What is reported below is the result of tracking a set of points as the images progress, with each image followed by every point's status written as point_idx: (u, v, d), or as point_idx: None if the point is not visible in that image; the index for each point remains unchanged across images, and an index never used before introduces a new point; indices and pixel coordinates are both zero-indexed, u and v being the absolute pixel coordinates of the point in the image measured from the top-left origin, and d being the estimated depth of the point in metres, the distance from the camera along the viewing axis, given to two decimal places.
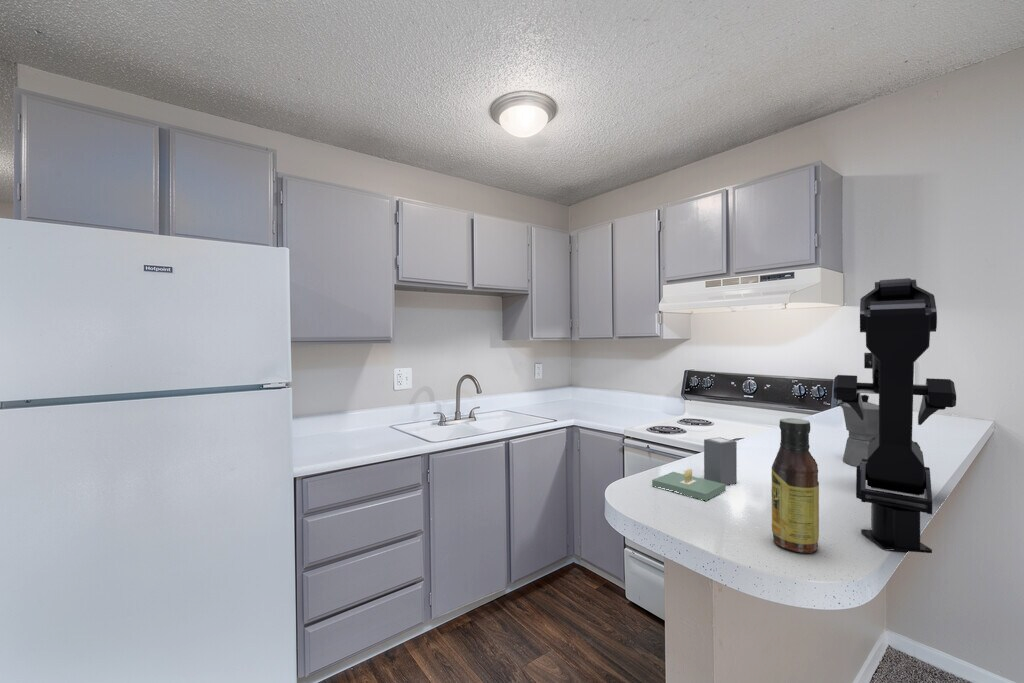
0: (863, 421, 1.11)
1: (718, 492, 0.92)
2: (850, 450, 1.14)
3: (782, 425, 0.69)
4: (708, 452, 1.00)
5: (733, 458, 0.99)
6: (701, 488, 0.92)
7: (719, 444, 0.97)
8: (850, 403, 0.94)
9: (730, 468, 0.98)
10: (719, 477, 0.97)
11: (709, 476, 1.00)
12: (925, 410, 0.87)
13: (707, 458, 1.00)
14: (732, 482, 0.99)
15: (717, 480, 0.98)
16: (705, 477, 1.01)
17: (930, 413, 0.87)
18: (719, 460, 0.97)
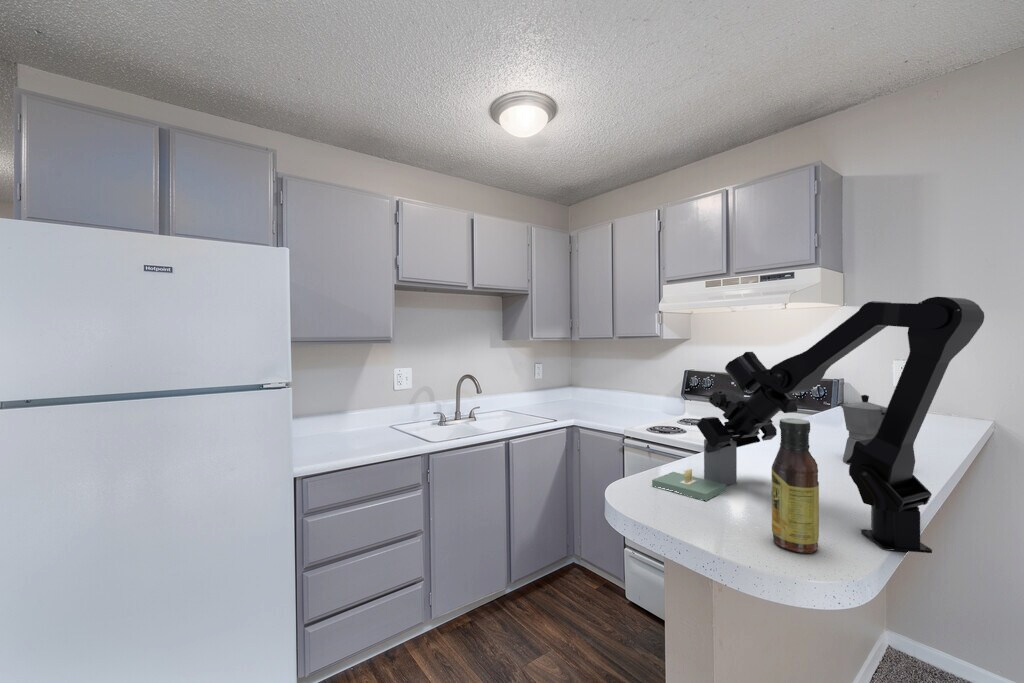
0: (863, 421, 1.11)
1: (718, 492, 0.92)
2: (850, 450, 1.14)
3: (782, 425, 0.69)
4: None
5: (733, 458, 0.99)
6: (701, 488, 0.92)
7: None
8: (724, 447, 0.94)
9: (730, 468, 0.98)
10: (719, 477, 0.97)
11: (709, 476, 1.00)
12: (748, 444, 0.97)
13: (707, 458, 1.00)
14: (732, 482, 0.99)
15: (717, 480, 0.98)
16: (705, 477, 1.01)
17: (746, 444, 0.99)
18: (719, 460, 0.97)
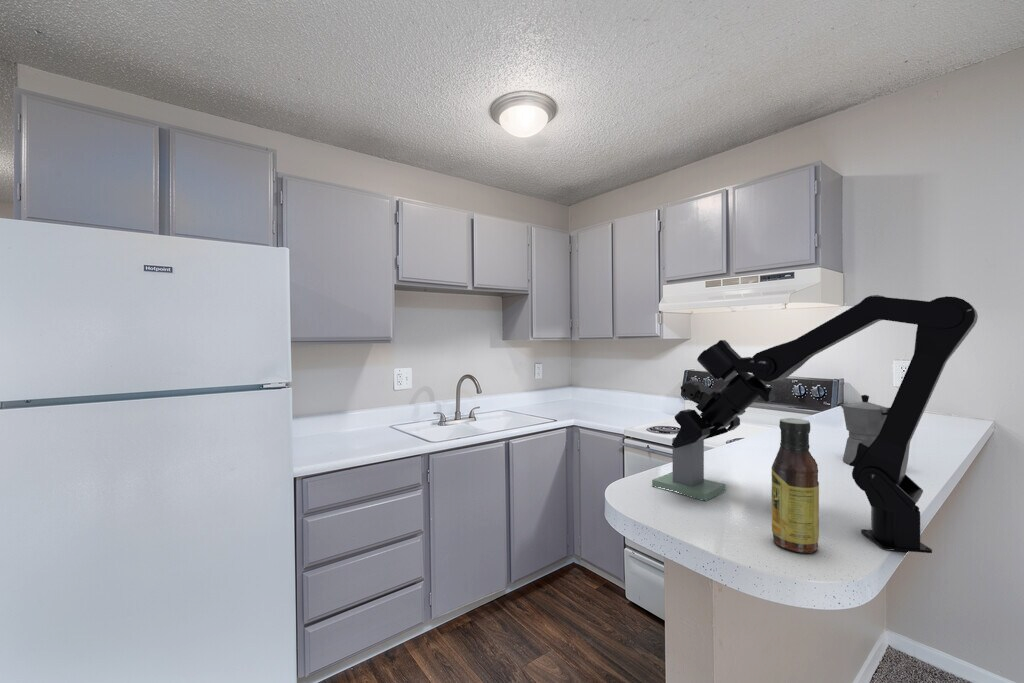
0: (863, 421, 1.11)
1: (718, 492, 0.92)
2: (850, 450, 1.14)
3: (782, 425, 0.69)
4: (677, 451, 0.95)
5: (701, 456, 0.95)
6: (701, 488, 0.92)
7: None
8: None
9: (699, 466, 0.95)
10: (691, 477, 0.93)
11: (678, 476, 0.95)
12: None
13: (676, 458, 0.95)
14: (700, 481, 0.95)
15: (688, 480, 0.93)
16: (674, 478, 0.96)
17: (715, 435, 0.96)
18: (691, 459, 0.93)
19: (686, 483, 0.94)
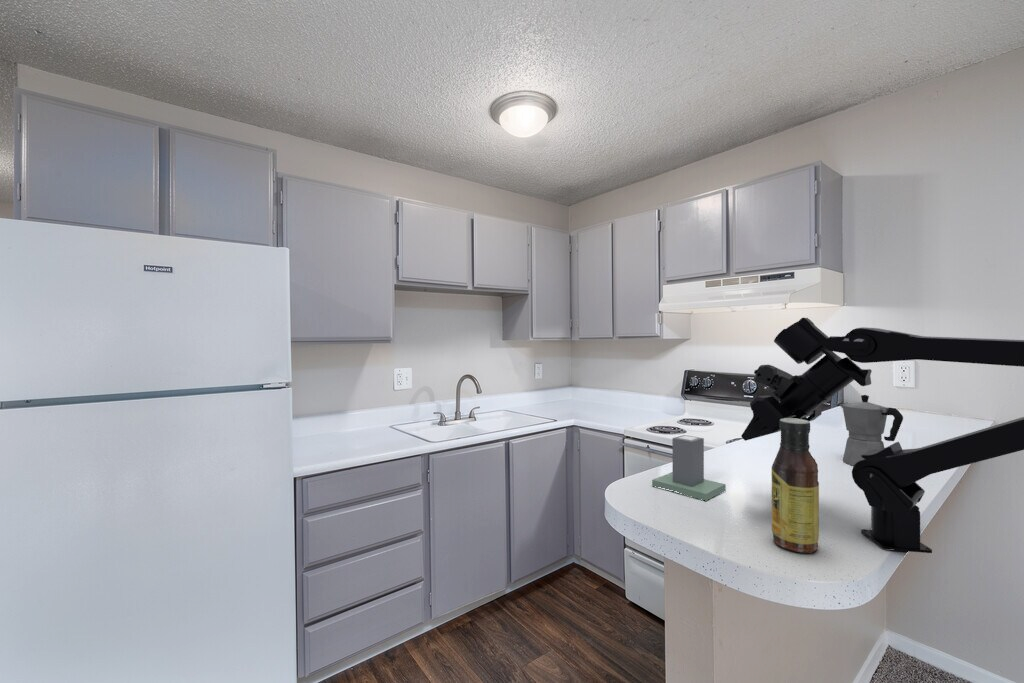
0: (863, 421, 1.11)
1: (718, 492, 0.92)
2: (850, 450, 1.14)
3: (782, 425, 0.69)
4: (677, 451, 0.95)
5: (701, 456, 0.95)
6: (701, 488, 0.92)
7: (691, 442, 0.93)
8: None
9: (699, 466, 0.95)
10: (691, 477, 0.93)
11: (678, 476, 0.95)
12: None
13: (676, 458, 0.95)
14: (700, 481, 0.95)
15: (688, 480, 0.93)
16: (674, 478, 0.96)
17: None
18: (691, 459, 0.93)
19: (686, 483, 0.94)
